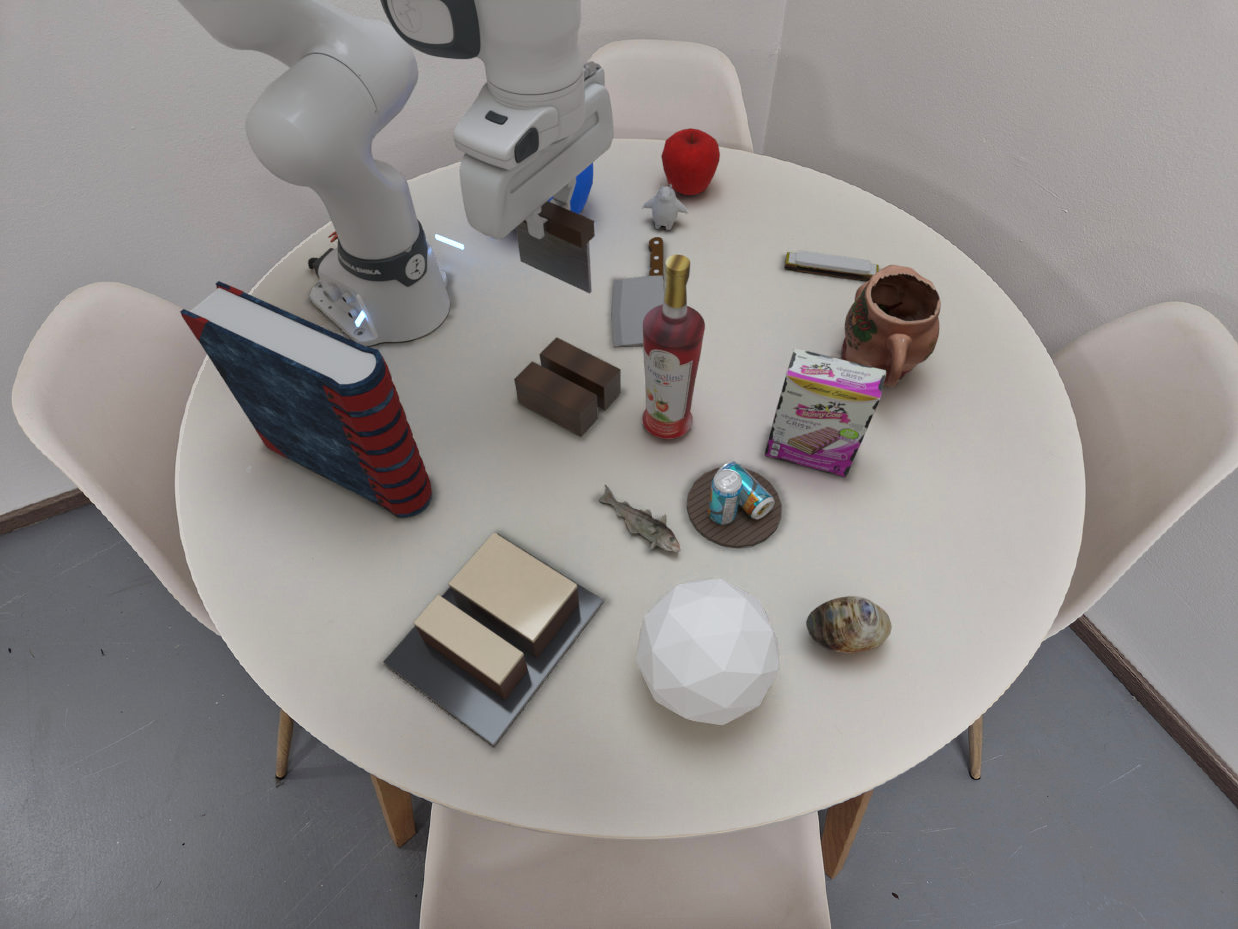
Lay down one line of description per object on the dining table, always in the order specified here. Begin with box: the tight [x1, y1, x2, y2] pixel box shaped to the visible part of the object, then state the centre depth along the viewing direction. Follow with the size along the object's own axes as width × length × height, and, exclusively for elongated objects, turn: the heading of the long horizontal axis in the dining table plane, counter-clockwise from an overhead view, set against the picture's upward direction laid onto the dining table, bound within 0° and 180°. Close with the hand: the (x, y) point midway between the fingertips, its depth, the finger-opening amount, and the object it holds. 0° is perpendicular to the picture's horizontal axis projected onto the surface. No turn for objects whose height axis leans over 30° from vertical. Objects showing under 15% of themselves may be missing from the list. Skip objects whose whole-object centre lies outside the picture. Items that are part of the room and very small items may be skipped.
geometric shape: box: [635, 578, 781, 726], centre depth 79 cm, size 14×15×15 cm
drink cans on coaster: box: [686, 459, 782, 549], centre depth 94 cm, size 12×12×8 cm
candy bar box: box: [764, 347, 886, 478], centre depth 95 cm, size 11×5×16 cm, turn 71°
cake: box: [382, 532, 604, 747], centre depth 85 cm, size 16×20×6 cm
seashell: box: [805, 595, 893, 654], centre depth 84 cm, size 10×6×8 cm, turn 91°
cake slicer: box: [515, 201, 595, 294], centre depth 84 cm, size 10×2×9 cm, turn 56°
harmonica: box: [784, 250, 880, 281], centre depth 122 cm, size 15×3×2 cm, turn 77°
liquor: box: [641, 254, 706, 440], centre depth 94 cm, size 7×7×28 cm
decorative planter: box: [841, 264, 942, 388], centre depth 105 cm, size 20×12×14 cm, turn 176°
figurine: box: [641, 182, 689, 232], centre depth 127 cm, size 8×6×8 cm
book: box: [179, 280, 433, 519], centre depth 91 cm, size 25×7×25 cm, turn 61°
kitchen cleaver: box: [611, 236, 665, 348], centre depth 120 cm, size 24×1×10 cm
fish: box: [598, 484, 682, 553], centre depth 95 cm, size 13×4×5 cm
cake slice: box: [413, 594, 528, 699], centre depth 83 cm, size 12×4×5 cm, turn 56°
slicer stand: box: [513, 337, 622, 438], centre depth 106 cm, size 11×10×5 cm
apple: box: [661, 127, 721, 196], centre depth 131 cm, size 10×10×11 cm
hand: (549, 224), depth 82 cm, fingers closed on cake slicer, 2 cm apart
